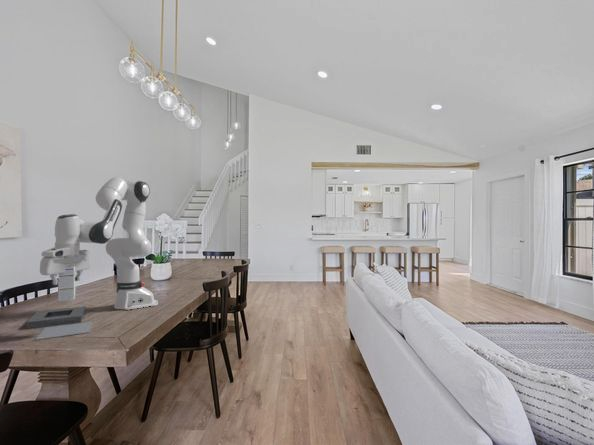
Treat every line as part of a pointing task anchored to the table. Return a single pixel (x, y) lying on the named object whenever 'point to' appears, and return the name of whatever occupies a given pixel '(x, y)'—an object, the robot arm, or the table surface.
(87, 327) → the grey mat
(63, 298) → the syrup box
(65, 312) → the holder block
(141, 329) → the table surface
